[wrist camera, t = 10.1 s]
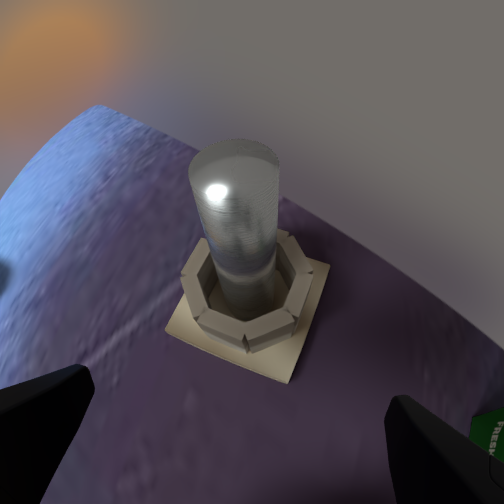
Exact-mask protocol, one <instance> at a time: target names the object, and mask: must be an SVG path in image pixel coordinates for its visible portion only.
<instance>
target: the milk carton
mask: <svg viewBox="0 0 504 504" xmlns="http://www.w3.org/2000/svg"><path fill="white" fill-rule="evenodd" d="M469 439H470V440H471V441H473V442H474V443H475V444H477V445H478V446H480V447H481V448H483V449H484V450H486V451H487V452H488V453H489V455H490V454H492V455H493V456H494V457H496V458H497V459H499V460H500V461H502V462H504V407H503V408H500V409H497V410H494V411H491V412H488V413H485V414H482V415H479V416H476V417H473V418H472V424H471V430H470V435H469Z"/></svg>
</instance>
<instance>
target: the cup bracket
mask: <svg viewBox="0 0 504 504" xmlns="http://www.w3.org/2000/svg"><path fill="white" fill-rule="evenodd" d="M329 268H330V265H329V264H326V263H323V262H320V261H317V260H314V259H311V258H307V257H306V256H305V255H304V253H303V251H302V250H301V248H300V246H299V244H298V243H297V241H296V239H295V238H294V236H293V235H292V236H290V237H289V232H287V231H283V230H280V229H277V242H276V264H275V283H274V301H273V305H272V308H271V310H270V311H269V312H268V313H267V314H266V315H263V316H261V317H258V318H256V319H253V320H251V321H245V320H241V319H239V318H237V317H236V316H234V315H233V314H232V313H231V312H230V310H229V308H228V306H227V303H226V300H225V297H224V294H223V291H222V287H221V284H220V281H219V278H218V275H217V272H216V268H215V265H214V262H213V259H212V255H211V252H210V249H209V245H208V242H207V239H204V238H201V239H200V241H199V243H198V244H197V246H196V248H195V249H194V251H193V253H192V254H191V256H190V258H189V260H188V261H187V263H186V265H185V266H184V268H183V270H182V272H181V274H182V276H183V277H181V278H180V279H181V282H182V285H183V289H184V292H185V293H184V295H183V297H182V299H181V300H180V302H179V304H178V306H177V308H176V310H175V312H174V313H173V315H172V317H171V319H170V321H169V323H168V325H167V327H166V328H165V331H166V332H167V333H168V334H170V335H172V336H174V337H176V338H178V339H180V340H182V341H184V342H187V343H189V344H191V345H193V346H195V347H197V348H199V349H202V350H204V351H206V352H208V353H211V354H213V355H215V356H217V357H220V358H222V359H224V360H227V361H229V362H231V363H234V364H236V365H239V366H241V367H243V368H246V369H248V370H251V371H254V372H256V373H259V374H261V375H264V376H266V377H269V378H272V379H275V380H277V381H280V382H283V383H286V384H288V382H289V380H290V377H291V375H292V372H293V370H294V367H295V365H296V362H297V359H298V357H299V354H300V352H301V349H302V346H303V344H304V341H305V338H306V336H307V333H308V330H309V328H310V325H311V322H312V319H313V316H314V313H315V311H316V308H317V305H318V302H319V299H320V296H321V293H322V290H323V287H324V284H325V281H326V278H327V275H328V271H329Z"/></svg>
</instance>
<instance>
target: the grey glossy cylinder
mask: <svg viewBox="0 0 504 504" xmlns="http://www.w3.org/2000/svg"><path fill="white" fill-rule="evenodd" d="M188 175H189V180H190V183H191V187H192V190H193V194H194V198H195V201H196V205H197V208H198V212H199V215H200V218H201V222H202V225H203V229H204V232H205V235H206V239H207V242H208V245H209V249H210V252H211V255H212V259H213V262H214V265H215V268H216V272H217V275H218V278H219V281H220V284H221V287H222V291H223V294H224V297H225V300H226V303H227V306H228V308H229V310H230V312H231V313H232V314H233V315H234V316H236V317H237V318H239V319H241V320H245V321H251V320H253V319H256V318H258V317H261V316H263V315H266V314H267V313H268V312H269V311H270V310H271V308H272V305H273V301H274V283H275V264H276V242H277V218H278V190H279V161H278V158H277V156H276V154H275V153H274V152H273V151H272V150H271V149H270V148H268V147H267V146H265V145H264V144H261V143H259V142H256V141H252V140H246V139H231V140H225V141H221V142H217V143H214V144H212V145H210V146H208V147H206V148H204V149H203V150H201V151H200V152H199V153H198V154H197V155H196V156H195V157H194V158H193V160H192V161H191V163H190V166H189V169H188Z"/></svg>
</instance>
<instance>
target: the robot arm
mask: <svg viewBox="0 0 504 504" xmlns="http://www.w3.org/2000/svg"><path fill="white" fill-rule="evenodd" d="M94 392H95V386H94V383H93V380H92V377H91V374H90V371H89V369H88V368H87V367H86V366H83V365H80V364H74V365H71V366H68V367H66V368H63V369H60V370H57V371H54V372H51V373H49V374H46V375H43V376H40V377H37V378H34V379H31V380H28V381H25V382H22V383H19V384H16V385H13V386H10V387H7V388H4V389H0V504H40V502H41V500H42V498H43V496H44V494H45V492H46V490H47V488H48V486H49V484H50V482H51V480H52V478H53V476H54V474H55V472H56V470H57V468H58V466H59V464H60V462H61V460H62V458H63V457H64V455H65V453H66V451H67V449H68V447H69V445H70V444H71V442H72V440H73V438H74V436H75V435H76V433H77V431H78V429H79V427H80V425H81V422H82V420H83V418H84V415H85V413H86V411H87V408H88V406H89V404H90V402H91V399H92V397H93V395H94ZM384 425H385V433H386V442H387V451H388V461H389V468H390V473H391V477H392V482H393V487H394V492H395V497H396V502H397V504H504V462H502V461H500V460H499V459H497V458H496V457H494V456H493V455H492V454H490V455H489V453H488V452H487V451H486V450H484V449H483V448H481V447H480V446H478V445H477V444H475V443H474V442H473V441H471V440H470V439H468V438H467V437H465V436H464V435H463V434H461V433H460V432H458V431H457V430H455V429H454V428H453V427H451V426H450V425H448V424H447V423H446V422H444V421H443V420H441V419H440V418H439V417H437V416H436V415H434V414H433V413H432V412H430V411H429V410H427V409H426V408H425V407H423V406H422V405H421V404H419V403H418V402H416V401H415V400H414V399H412V398H411V397H410V396H408V395H399V396H394V397H393V398H392V400H391V402H390V405H389V407H388V410H387V412H386V415H385V418H384Z"/></svg>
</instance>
